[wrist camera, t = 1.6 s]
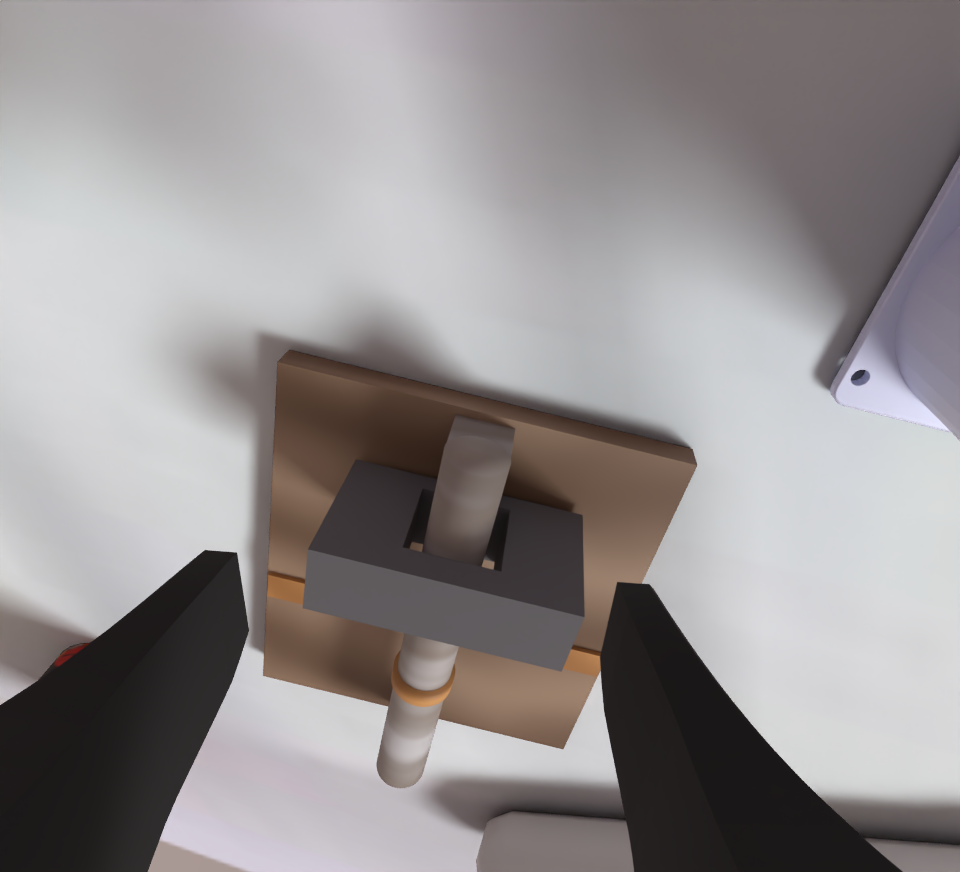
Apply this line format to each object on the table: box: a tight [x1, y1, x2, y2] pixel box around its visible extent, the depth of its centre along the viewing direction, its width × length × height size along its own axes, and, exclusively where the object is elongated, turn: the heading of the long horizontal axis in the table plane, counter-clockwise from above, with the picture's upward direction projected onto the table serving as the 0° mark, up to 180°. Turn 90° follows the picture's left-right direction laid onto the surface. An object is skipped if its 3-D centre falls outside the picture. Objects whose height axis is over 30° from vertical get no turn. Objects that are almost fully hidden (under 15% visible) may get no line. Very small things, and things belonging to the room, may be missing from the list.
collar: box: [303, 459, 585, 672], centre depth 21 cm, size 2×8×5 cm, turn 78°
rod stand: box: [263, 350, 697, 788], centre depth 24 cm, size 16×14×5 cm
